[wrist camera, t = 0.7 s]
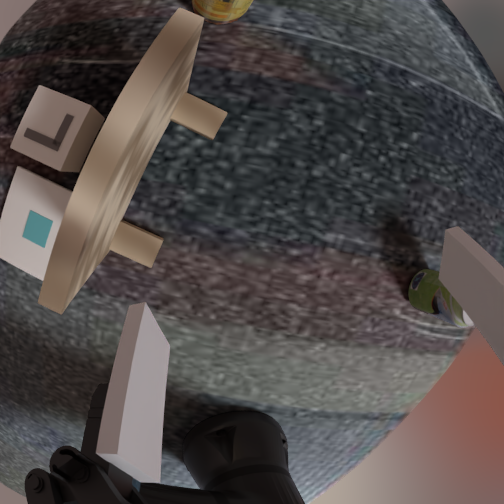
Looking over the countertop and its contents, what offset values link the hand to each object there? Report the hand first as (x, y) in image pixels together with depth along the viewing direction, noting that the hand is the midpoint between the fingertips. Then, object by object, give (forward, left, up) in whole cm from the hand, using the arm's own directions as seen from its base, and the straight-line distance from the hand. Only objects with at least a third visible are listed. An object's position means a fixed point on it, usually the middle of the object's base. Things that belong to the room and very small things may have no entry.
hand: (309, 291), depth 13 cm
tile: (-9, +18, -21) cm, 29 cm away
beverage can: (+4, -29, -21) cm, 36 cm away
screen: (+1, +8, -21) cm, 23 cm away
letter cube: (+1, +19, -21) cm, 28 cm away
